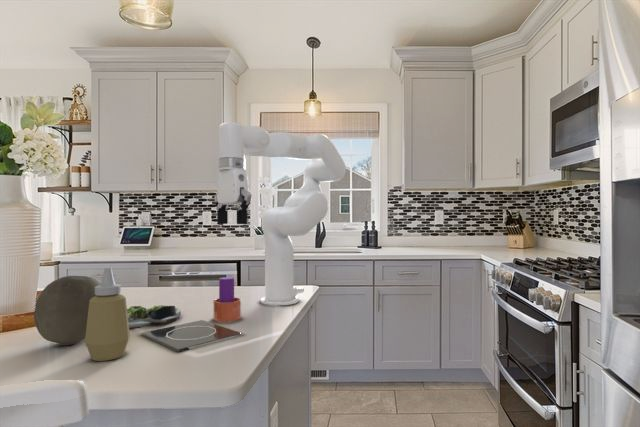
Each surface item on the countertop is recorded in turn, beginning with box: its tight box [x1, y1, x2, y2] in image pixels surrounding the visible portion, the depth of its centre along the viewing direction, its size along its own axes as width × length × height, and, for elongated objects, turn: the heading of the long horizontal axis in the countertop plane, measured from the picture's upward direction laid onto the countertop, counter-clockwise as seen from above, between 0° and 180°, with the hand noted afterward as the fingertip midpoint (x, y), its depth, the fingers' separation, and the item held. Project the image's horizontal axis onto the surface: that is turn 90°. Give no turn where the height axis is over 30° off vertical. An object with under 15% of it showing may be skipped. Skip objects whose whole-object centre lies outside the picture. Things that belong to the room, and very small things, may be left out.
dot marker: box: [218, 276, 235, 302], centre depth 109 cm, size 4×4×11 cm
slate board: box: [141, 319, 242, 353], centre depth 95 cm, size 16×18×1 cm
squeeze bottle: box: [84, 266, 131, 362], centre depth 81 cm, size 8×8×18 cm
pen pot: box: [212, 296, 242, 323], centre depth 110 cm, size 7×7×6 cm
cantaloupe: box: [33, 275, 101, 346], centre depth 90 cm, size 14×14×15 cm
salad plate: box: [127, 304, 181, 329], centre depth 108 cm, size 19×18×5 cm
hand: (232, 223), depth 117 cm, fingers open, 9 cm apart
